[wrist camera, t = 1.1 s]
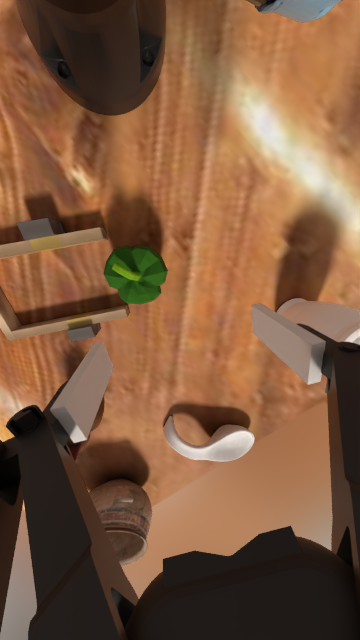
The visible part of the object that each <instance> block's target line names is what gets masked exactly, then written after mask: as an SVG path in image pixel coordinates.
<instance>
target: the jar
mask: <svg viewBox="0 0 360 640" xmlns="http://www.w3.org/2000/svg"><path fill="white" fill-rule="evenodd" d="M276 313H278V314H280V315H281V316H283V317H285V318H286V319H288V320H290V321H292V322H293V323H295V324H298V323H300V324H304V325H307V326H309V327H311V328H313V329H314V330H317V331H319V332H320V333H322V334H324V335H326V336H328V337H329V338H331V339H333V340H335V341H337V342H341V341H343V342H352V343H356V344H359V345H360V311H359V310H356V309H354V308H351V307H347V306H344V305H339V304H334V303H325V302H319V301H307V300H305V299H302V298H294V299H291V300H289V301H287V302H285V303H284V304H283V305H282V306H281V307H280V308H279V309H278V310H277V312H276Z"/></svg>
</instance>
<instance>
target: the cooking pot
mask: <svg viewBox="0 0 360 640" xmlns="http://www.w3.org/2000/svg"><path fill="white" fill-rule="evenodd" d="M89 495H90V497H91V499H92V501H93V504H94V506H95V508H96V510H97V513H98V515H99V517H100V520H101V522H102V524H103V526H104V529H105V531H106V533H107V535H108V538H109V540H110V542H111V544H112V547H113V549H114V551H115V554H116V556H117V558H118V560H119V563H120V565H121V566H124V565H127V564H129V563H132V562H134V561H136V560H137V559H139V558H140V557H142V556H143V555H144V554H145V552H146V551H147V547H148V544H147V541H146V538H147V535H148V532H149V527H150V523H151V517H152V509H151V503H150V500H149V497H148V495H147V493H146V492H145V491H144V490H143V489H142V488H141V487H140V486H139V485H137V484H135V483H133V482H131V481H129V480H127V479H124V478H116V479H113V480H111V481H109V482H106V483H104V484H101V485H99V486H98V487H96V488H94V489H93V490H92V491H90V492H89Z"/></svg>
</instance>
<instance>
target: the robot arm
mask: <svg viewBox="0 0 360 640" xmlns="http://www.w3.org/2000/svg"><path fill="white" fill-rule="evenodd" d="M246 1H248V2H250V3H252V4H254V5H255V8H256V9H257V10H258V11H259V12H260V13H262V14H268V13H272V12H273V13H276V14H280V15H282V16H285V17H287V18H290V19H292V20H295V21H297V22H302V23H304V22H311V21H314V20H316V19H318V18H320V17H321V16H323V15H324V14H326V13H327V12H329V11H330V10H331V9H332V8H333V7H334V6H335V5H336V4H338V3H340V2H341V1H342V0H246ZM15 2H16V5H17V8H18V11H19V14H20V17H21V20H22V22H23V25H24V27H25V29H26V32H27V34H28V36H29V38H30V40H31V42H32V44H33V46H34V48H35V50H36V51H37V53H38V55H39V56H40V58H41V60H42V61H43V63H44V65H45V66H46V68H47V69H48V71H49V73H50V74H51V76H52V77H53V78H54V80H55V81H56V82H57V84H58V85H59V86H60V87H61V88H62V89H63V91H64V92H65V93H66V94H67V95H68V96H70V97H71V98H72V99H73V100H74V101H76V102H77V103H78V104H80V105H81V106H83V107H85V108H87V109H89V110H91V111H93V112H96V113H99V114H104V115H120V114H124V113H127V112H130V111H132V110H133V109H135V108H137V107H138V106H139V105H141V104H142V103H143V102H144V101H145V100H146V99H147V97H148V96H149V95H150V93H151V92H152V90H153V88H154V87H155V85H156V83H157V80H158V78H159V75H160V72H161V68H162V64H163V59H164V53H165V37H166V6H165V0H15ZM252 322H253V333H254V334H255V335H256V336H257V337H258V338H259V339H260V340H261V341H262V342H263V343H264V344H265V345H266V346H267V347H269V348H270V349H271V350H272V351H273V352H274V353H275V354H276V355H277V356H278V357H279V358H280V359H281V360H282V361H283V362H284V363H285V364H286V365H288V366H289V367H290V368H291V369H292V370H293V371H294V372H295V373H296V374H297V375H298V376H299V377H300V378H301V379H302V380H303V381H304V382H306V383H307V384H312V383H316V382H320V381H321V374H323V375H325V376H326V377H327V384H326V391H325V393H327V399H328V422H329V445H330V467H331V489H332V490H331V491H332V513H333V525H332V551H330V550H328V549H327V548H325V547H323V546H322V545H320V544H318V543H316V542H313V541H311V540H308V539H305V538H302V537H296V536H295V534H294V532H293V530H292V528H291V526H288V527H285V528H281V529H277V530H273V531H269V532H266V533H262V534H259V535H258V536H256V537H255V538H254V539H253V540H251V541H250V542H249V543H247V544H246V545H245V546H244V547H242V548H241V549H240V550H238V551H237V552H236V553H235V554H233V555H231V556H222V555H216V554H211V553H205V552H199V551H192V552H188V553H184V554H180V555H177V556H173V557H169V558H165V559H163V572H161V573H160V574H159V575H158V576H157V577H156V578H155V579H154V580H153V581H152V582H151V583H150V585H149V586H148V587H147V588H146V590H145V591H144V593H143V594H142V596H141V597H140V599H138V597H137V595H136V593H135V591H134V589H133V587H132V585H131V584H130V582H129V581H128V579H127V577H126V576H125V574H124V572H123V569H122V567H121V565H120V563H119V560H118V558H117V556H116V554H115V551H114V549H113V547H112V544H111V542H110V540H109V538H108V535H107V533H106V531H105V529H104V526H103V524H102V522H101V520H100V517H99V515H98V513H97V510H96V508H95V506H94V504H93V501H92V499H91V497H90V495H89V492H88V490H87V488H86V485H85V483H84V481H83V479H82V476H81V474H80V472H79V470H78V467H77V465H76V463H75V460H74V458H73V456H72V454H71V451H70V449H69V447H68V446H67V444H66V442H67V440H68V438H69V437H70V438H71V440H72V441H73V442H74V443H76V442H80V441H84V440H87V439H88V436H89V433H90V430H91V428H92V425H93V422H94V420H95V417H96V414H97V412H98V409H99V406H100V403H101V401H102V398H103V395H104V393H105V390H106V387H107V385H108V382H109V379H110V376H111V374H112V371H113V368H114V366H113V364H112V362H111V360H110V357H109V355H108V353H107V351H106V349H105V346H104V344H103V342H99V343H94V344H93V345H92V347H91V348H90V350H89V351H88V353H87V354H86V356H85V357H84V359H83V360H82V362H81V363H80V365H79V366H78V368H77V369H76V371H75V372H74V374H73V375H72V377H71V378H70V380H68V381H66V382H65V383H64V384H63V385H62V386H61V387H60V388H59V389H58V391H57V392H56V394H55V395H54V396H53V398H52V400H51V401H50V402H49V404H48V405H47V407H46V408H45V409H44V411H43V412H42V411H41V410H40V409H39V407H38V406H37V405H31V406H28V407H26V408H24V409H22V410H20V411H19V412H17V413H16V414H15V415H14V416H13V417H12V418H10V420H9V421H8V422H7V425H6V427H7V428H8V429H9V431H10V432H11V433H12V434H13V435H14V436H15V437H13V438H11V439H9V440H7V441H5V442H2V441H1V440H0V632H1V626H2V620H3V615H4V609H5V603H6V597H7V591H8V586H9V580H10V574H11V568H12V562H13V557H14V551H15V545H16V540H17V534H18V528H19V522H20V517H21V511H22V505H23V499H24V505H25V512H26V520H27V528H28V535H29V544H30V551H31V559H32V567H33V575H34V583H35V591H36V599H37V611H36V614H35V615H34V617H33V618H32V620H31V622H30V626H29V631H28V640H360V345H359V344H356V343H352V342H343V341H341V342H337V341H335V340H333V339H331V338H329V337H328V336H326V335H324V334H322V333H320V332H319V331H317V330H314V329H313V328H311V327H309V326H307V325H304V324H300V323H298V324H295V323H293V322H292V321H290V320H288V319H286V318H285V317H283V316H281V315H280V314H278V313H276V312H274V311H273V310H271V309H269V308H268V307H266V306H264V305H262V304H261V303H259V304H255V305H252Z"/></svg>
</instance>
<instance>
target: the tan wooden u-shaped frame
mask: <svg viewBox="0 0 360 640" xmlns="http://www.w3.org/2000/svg"><path fill="white" fill-rule="evenodd" d="M17 225H18V227H19V230H20V232H21V234H22V236H23V238H24V240H26V241H21V242H15V243H10V244H4V245H0V259H4V258H10V257H15V256H21V255H26V254H31V253H37V252H42V251H48V250H53V249H59V248H64V247H70V246H75V245H80V244H86V243H91V242H97V241H102V240H108V238H107V235H106V231H105V229H103V228H101V227H98V228H93V229H87V230H82V231H76V232H71V233H65V232H64V229H63V226H62V224H61V222H60V221H57V220H53V219H50V218H43V219H38V220H32V221H26V222H21V223H17ZM129 313H130V312H129V308H128V305H123V306H118V307H113V308H108V309H103V310H98V311H93V312H88V313H83V314H78V315H73V316H68V317H63V318H58V319H53V320H48V321H43V322H38V323H33V324H28V325H23V326H22V325H21V323H20V322H19V320H18V318H17V316H16V315H15V313H14V311H13V309H12V307H11V306H10V304H9V302H8V300H7V299H6V297H5V295H4V293H3V291H2V290H1V288H0V328H1V330H2V331H3V333H4V334H5V336H6V338H7V339H8V341H11V340H16V339H21V338H26V337H31V336H36V335H41V334H46V333H51V332H56V331H61V330H66V329H68V330H67V333H68V335H69V338H70V340H71V342H72V341H77V340H82V339H87V338H92V337H95V336H96V335H97V333H98V332H99V331H100V329H101V327H100V324H99V323H100V322H105V321H110V320H115V319H120V318H125V317H128V315H129Z"/></svg>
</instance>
